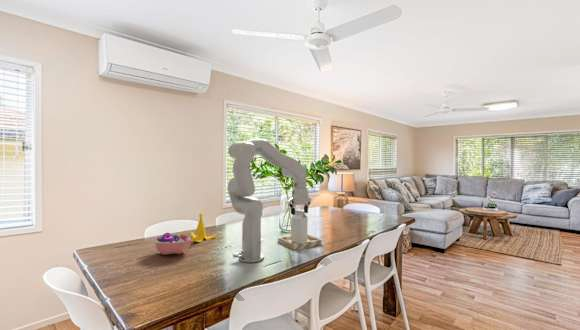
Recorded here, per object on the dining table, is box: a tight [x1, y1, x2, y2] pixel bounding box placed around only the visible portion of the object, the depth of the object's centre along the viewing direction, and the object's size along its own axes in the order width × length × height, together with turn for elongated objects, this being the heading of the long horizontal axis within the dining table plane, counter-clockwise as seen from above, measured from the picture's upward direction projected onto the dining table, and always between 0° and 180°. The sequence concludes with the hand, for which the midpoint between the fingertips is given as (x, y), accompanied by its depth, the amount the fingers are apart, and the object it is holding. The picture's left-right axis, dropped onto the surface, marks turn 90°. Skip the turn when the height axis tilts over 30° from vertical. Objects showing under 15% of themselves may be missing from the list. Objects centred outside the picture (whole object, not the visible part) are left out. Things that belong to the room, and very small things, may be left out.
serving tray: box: [277, 233, 323, 251], centre depth 171 cm, size 20×18×3 cm
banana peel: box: [189, 213, 219, 243], centre depth 179 cm, size 17×19×17 cm
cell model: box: [153, 232, 193, 256], centre depth 151 cm, size 17×20×11 cm
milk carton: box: [290, 209, 309, 244], centre depth 170 cm, size 7×7×19 cm
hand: (299, 213), depth 170 cm, fingers open, 9 cm apart
